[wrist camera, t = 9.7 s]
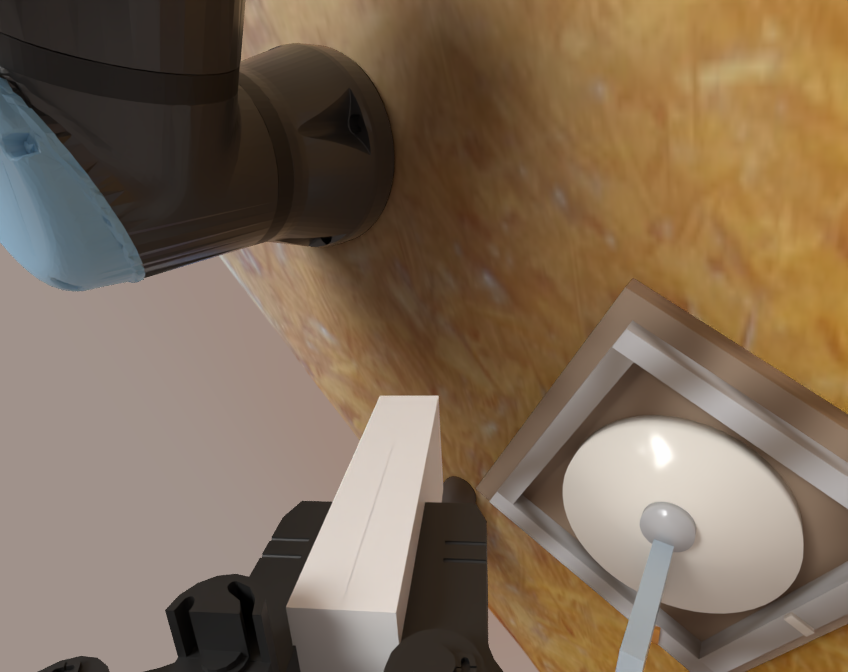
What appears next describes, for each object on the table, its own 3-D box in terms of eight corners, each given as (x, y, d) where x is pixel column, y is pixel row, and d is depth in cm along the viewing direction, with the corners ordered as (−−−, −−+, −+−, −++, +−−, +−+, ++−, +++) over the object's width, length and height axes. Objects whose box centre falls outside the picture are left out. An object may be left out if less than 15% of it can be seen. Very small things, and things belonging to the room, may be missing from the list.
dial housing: (486, 475, 45) (465, 501, 42) (633, 278, 32) (617, 296, 29) (714, 664, 39) (708, 709, 36) (1008, 516, 26) (1035, 568, 23)
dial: (578, 391, 35) (511, 484, 26) (834, 456, 28) (853, 613, 19) (561, 544, 41) (502, 660, 32) (770, 630, 34) (763, 809, 25)
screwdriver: (439, 490, 49) (324, 619, 37) (452, 469, 47) (335, 599, 35) (466, 514, 48) (358, 654, 36) (481, 494, 46) (372, 636, 34)
